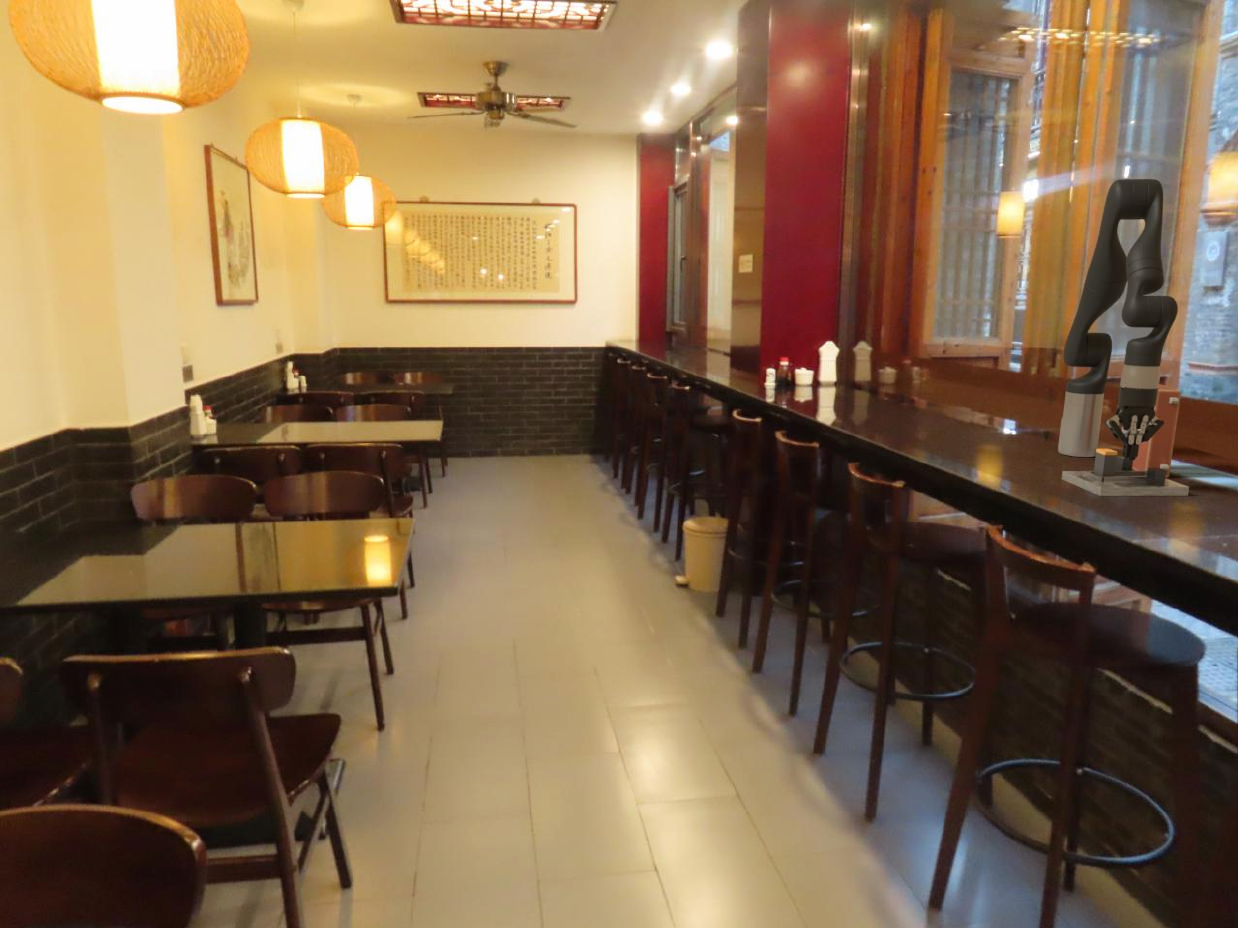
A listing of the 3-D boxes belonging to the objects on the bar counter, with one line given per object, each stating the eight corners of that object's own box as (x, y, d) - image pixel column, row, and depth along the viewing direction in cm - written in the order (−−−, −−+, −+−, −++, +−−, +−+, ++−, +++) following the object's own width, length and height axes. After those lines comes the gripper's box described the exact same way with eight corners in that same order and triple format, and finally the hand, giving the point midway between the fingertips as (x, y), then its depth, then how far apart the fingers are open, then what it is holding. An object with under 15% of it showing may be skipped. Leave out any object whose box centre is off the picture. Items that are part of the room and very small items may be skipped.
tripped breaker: (1093, 474, 198) (1096, 448, 197) (1105, 474, 198) (1108, 448, 197) (1102, 478, 195) (1105, 451, 193) (1114, 478, 195) (1117, 451, 193)
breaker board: (1061, 479, 205) (1064, 456, 204) (1143, 478, 205) (1146, 455, 204) (1099, 495, 189) (1103, 471, 188) (1187, 495, 190) (1191, 470, 188)
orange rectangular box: (1150, 465, 220) (1174, 478, 205) (1120, 464, 221) (1143, 477, 207) (1161, 383, 215) (1187, 391, 201) (1131, 382, 216) (1155, 390, 202)
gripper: (1157, 383, 196) (1147, 456, 200) (1101, 383, 196) (1091, 456, 199) (1179, 387, 189) (1167, 463, 192) (1120, 387, 188) (1110, 463, 192)
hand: (1129, 459), depth 196 cm, fingers closed
